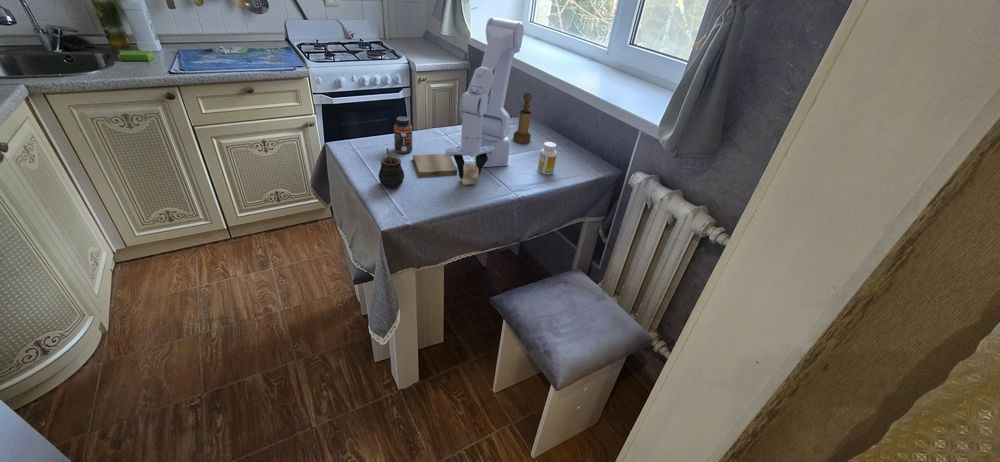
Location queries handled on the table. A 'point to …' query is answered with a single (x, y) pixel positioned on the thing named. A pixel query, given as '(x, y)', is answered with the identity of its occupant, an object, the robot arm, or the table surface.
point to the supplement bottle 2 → (547, 158)
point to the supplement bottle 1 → (403, 135)
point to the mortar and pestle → (524, 122)
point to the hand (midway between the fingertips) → (468, 176)
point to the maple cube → (470, 173)
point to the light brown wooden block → (434, 165)
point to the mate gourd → (391, 172)
